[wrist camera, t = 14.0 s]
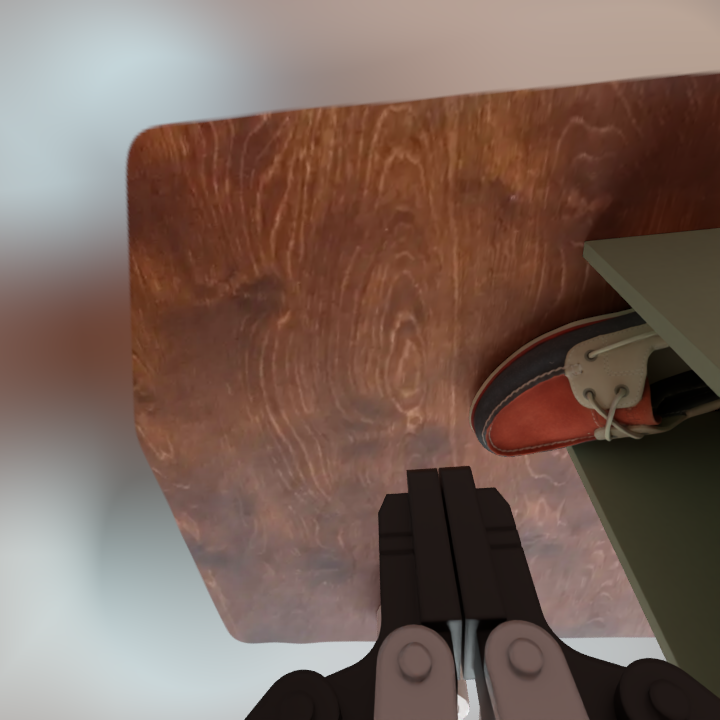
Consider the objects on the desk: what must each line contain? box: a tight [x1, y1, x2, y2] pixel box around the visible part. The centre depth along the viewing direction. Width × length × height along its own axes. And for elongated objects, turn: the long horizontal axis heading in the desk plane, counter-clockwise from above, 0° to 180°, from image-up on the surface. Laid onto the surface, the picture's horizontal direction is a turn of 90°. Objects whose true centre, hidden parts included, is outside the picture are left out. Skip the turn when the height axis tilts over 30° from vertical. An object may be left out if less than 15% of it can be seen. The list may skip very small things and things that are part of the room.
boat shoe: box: [469, 308, 720, 457], centre depth 37 cm, size 10×27×8 cm, turn 121°
